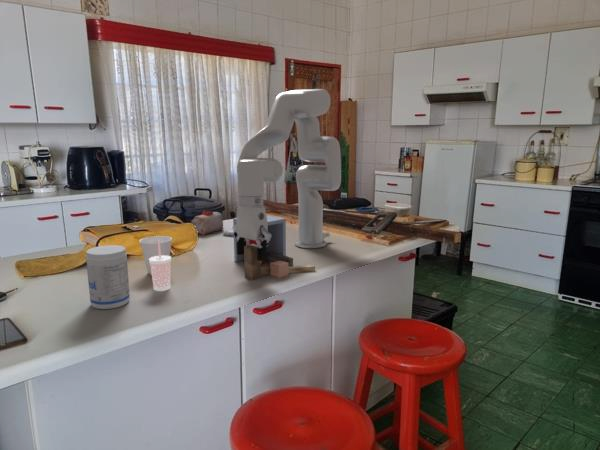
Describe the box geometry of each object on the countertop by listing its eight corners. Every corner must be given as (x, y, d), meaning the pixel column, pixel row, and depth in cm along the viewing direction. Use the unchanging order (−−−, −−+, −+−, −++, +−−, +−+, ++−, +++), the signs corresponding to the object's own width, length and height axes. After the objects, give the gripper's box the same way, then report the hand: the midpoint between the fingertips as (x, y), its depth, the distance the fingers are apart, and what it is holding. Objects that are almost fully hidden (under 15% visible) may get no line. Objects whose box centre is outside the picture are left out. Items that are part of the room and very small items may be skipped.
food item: (203, 236, 188) (202, 213, 186) (190, 234, 193) (189, 212, 191) (225, 230, 200) (224, 209, 198) (212, 228, 204) (211, 207, 202)
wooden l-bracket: (270, 259, 153) (270, 232, 151) (294, 267, 144) (294, 238, 142) (228, 271, 140) (227, 241, 138) (251, 280, 132) (251, 248, 130)
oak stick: (313, 270, 142) (313, 264, 142) (314, 271, 141) (314, 266, 140) (286, 272, 140) (286, 266, 140) (287, 273, 139) (287, 268, 138)
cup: (180, 269, 142) (178, 237, 140) (161, 279, 133) (159, 244, 130) (155, 266, 145) (152, 234, 143) (135, 275, 136) (132, 241, 134)
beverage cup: (150, 286, 127) (147, 239, 124) (172, 283, 129) (169, 237, 126) (151, 293, 121) (147, 244, 118) (174, 290, 123) (171, 242, 120)
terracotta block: (279, 272, 139) (279, 260, 139) (288, 275, 137) (288, 262, 136) (270, 275, 137) (270, 262, 136) (279, 278, 134) (278, 265, 133)
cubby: (261, 254, 160) (260, 213, 157) (285, 261, 151) (285, 218, 147) (234, 261, 151) (233, 218, 148) (258, 269, 142) (257, 223, 139)
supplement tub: (84, 304, 113) (78, 249, 110) (119, 294, 121) (114, 242, 117) (102, 313, 107) (96, 256, 104) (137, 302, 114) (133, 248, 111)
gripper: (279, 203, 126) (279, 260, 129) (242, 197, 138) (243, 249, 141) (259, 205, 121) (260, 265, 124) (223, 199, 133) (224, 253, 136)
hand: (251, 256), depth 132 cm, fingers open, 9 cm apart
